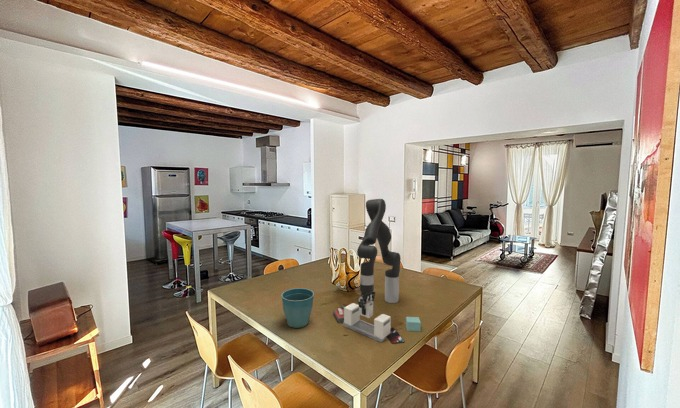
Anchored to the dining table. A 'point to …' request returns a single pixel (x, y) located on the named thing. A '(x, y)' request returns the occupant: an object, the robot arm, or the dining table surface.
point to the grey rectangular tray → (365, 329)
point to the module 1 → (351, 314)
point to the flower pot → (297, 306)
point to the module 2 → (382, 326)
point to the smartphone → (395, 337)
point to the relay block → (413, 324)
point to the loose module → (368, 309)
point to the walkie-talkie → (339, 314)
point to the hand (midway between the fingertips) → (366, 312)
